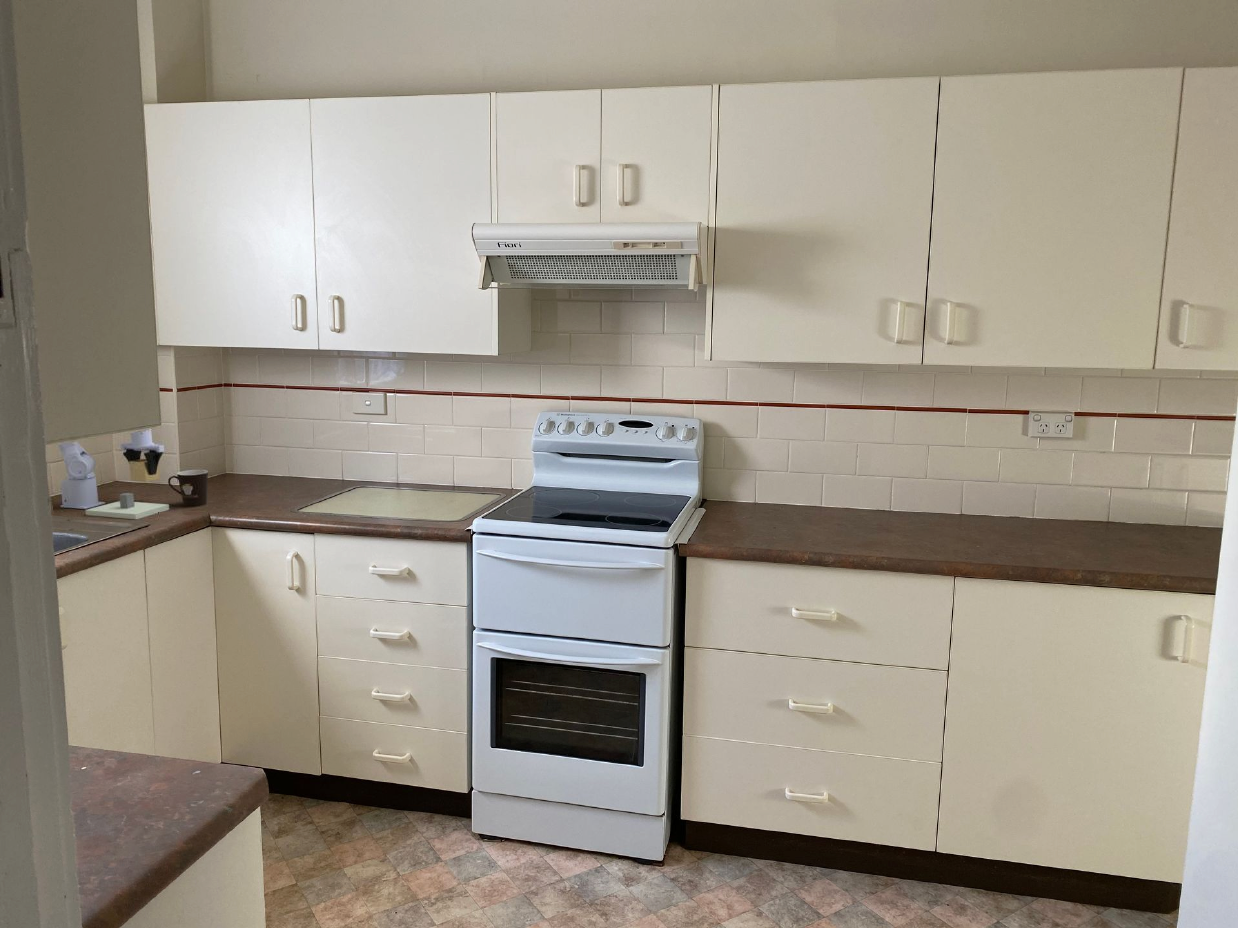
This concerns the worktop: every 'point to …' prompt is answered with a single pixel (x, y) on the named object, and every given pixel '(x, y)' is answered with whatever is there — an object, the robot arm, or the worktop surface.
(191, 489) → the coffee mug
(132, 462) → the brass collar
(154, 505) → the post stand
